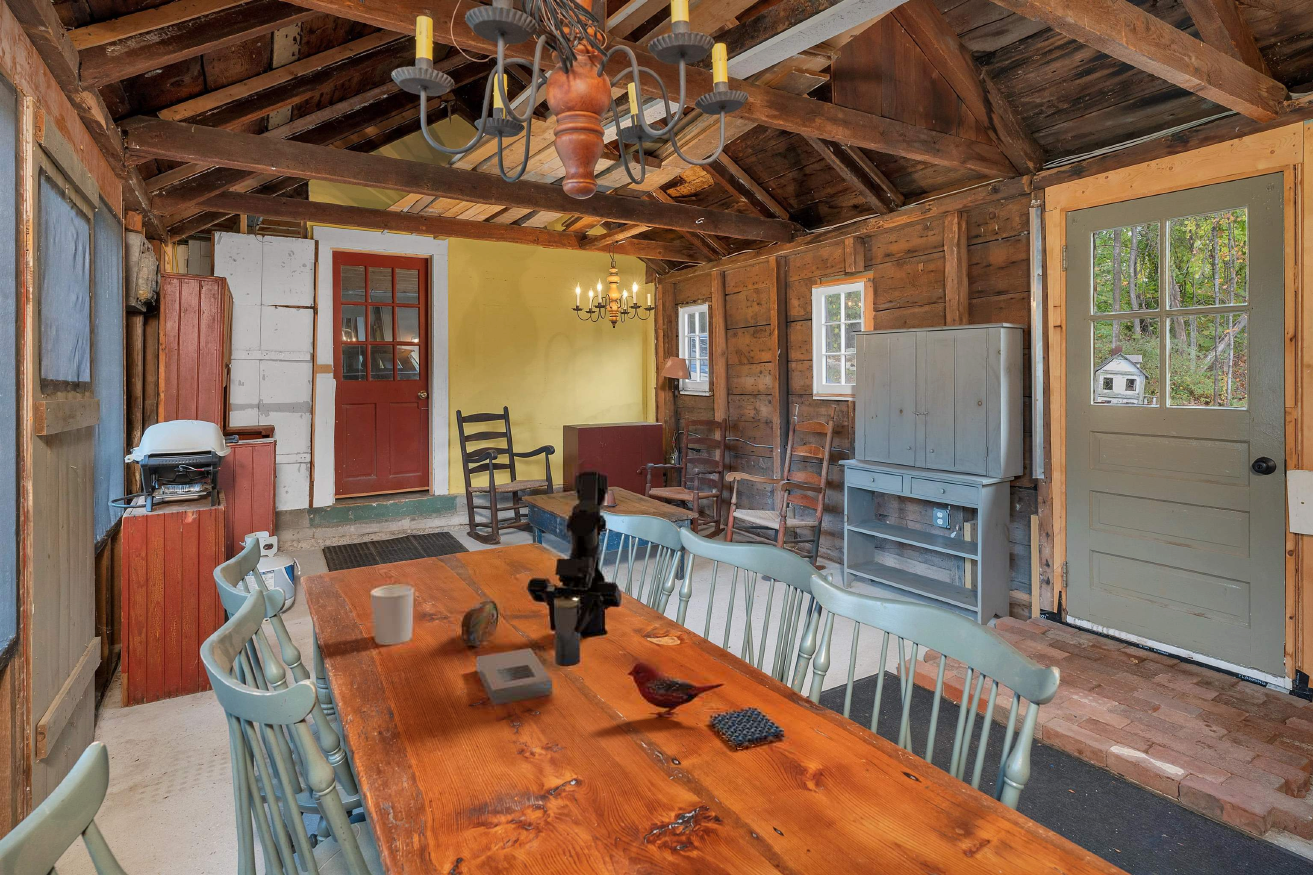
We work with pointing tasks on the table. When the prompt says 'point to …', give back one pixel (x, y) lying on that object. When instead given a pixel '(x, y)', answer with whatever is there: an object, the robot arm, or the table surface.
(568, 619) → the end plug
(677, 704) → the decorative bird figurine
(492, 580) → the table surface
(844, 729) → the table surface
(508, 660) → the housing block
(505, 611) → the table surface
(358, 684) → the table surface
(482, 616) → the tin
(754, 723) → the woven mat
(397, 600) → the white paper cup
